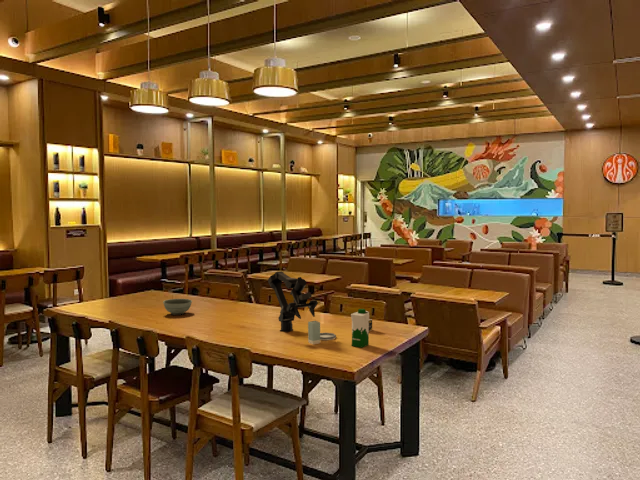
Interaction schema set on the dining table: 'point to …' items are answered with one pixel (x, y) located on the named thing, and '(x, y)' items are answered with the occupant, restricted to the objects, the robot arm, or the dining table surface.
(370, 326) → the medicine bottle
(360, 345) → the milk carton
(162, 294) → the dining table surface
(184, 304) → the bowl
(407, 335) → the dining table surface
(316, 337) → the gray block
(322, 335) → the coaster
